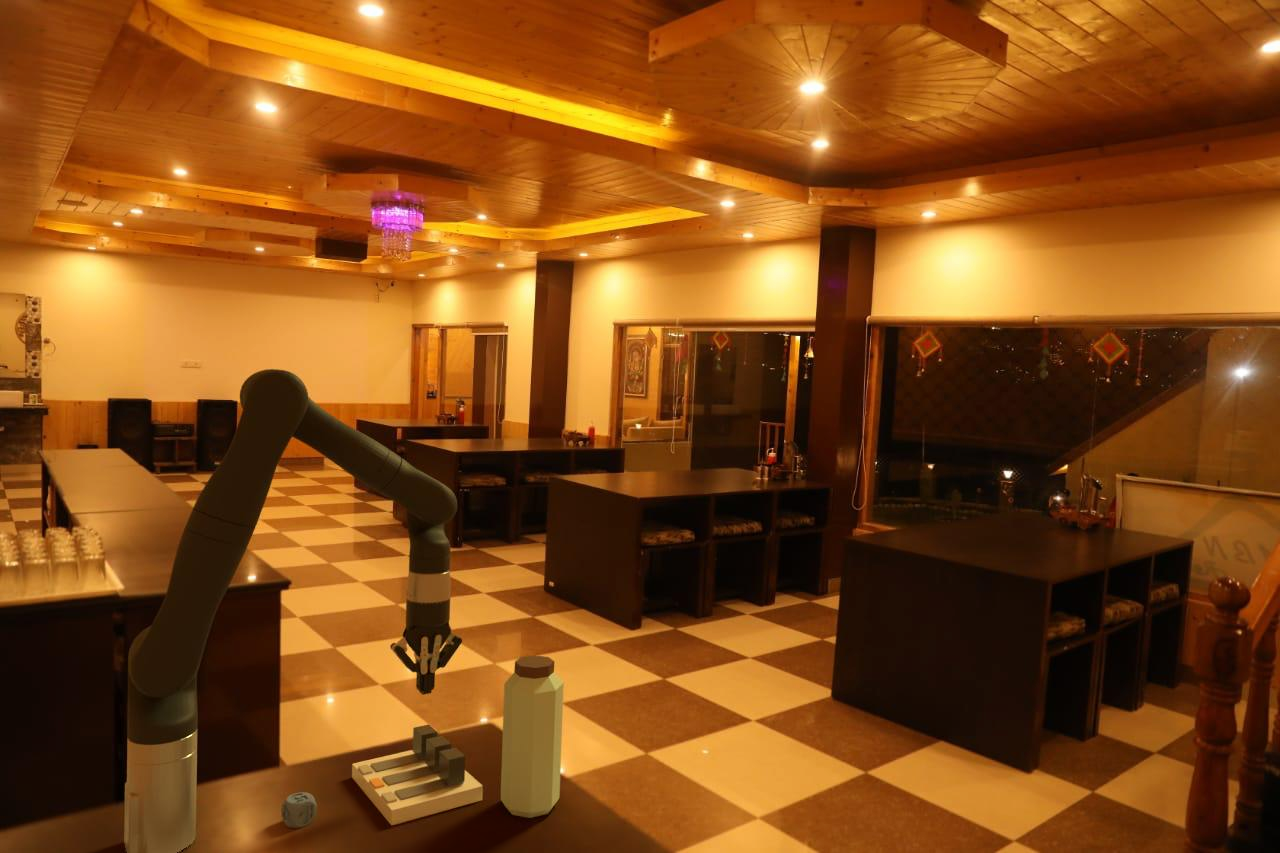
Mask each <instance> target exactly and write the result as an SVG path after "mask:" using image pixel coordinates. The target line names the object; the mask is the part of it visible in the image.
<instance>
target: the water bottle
mask: <svg viewBox="0 0 1280 853" xmlns="http://www.w3.org/2000/svg"><path fill="white" fill-rule="evenodd" d="M513 670H514V672H513V673H512V674H511V675H510V676H509V677H508V679H507V680H505V682H504V683H503V686H504V687H503V690H504V691H503V711H502V712H503V715H502V743H501V744H502V746H501V747H502V749H501V774H500V801H501V802H502V804H503V805H504V808H506V809H507V811H508V812H510V814H511V815H512V816H516V817H517V816H518V817H522V818H530V819H532V818H535V817H539V816H543V815H548V814H549V813H550V811H551V810H552V809H553V807H554V806H555V805H556V803H557V802H558V801H559V799H560V794H561V792H560V791H561V768H562V766H561V765H562V764H561V763H562V739H563V738H562V736H563V734H562V733H563V710H564V707H563V706H564V704H563V703H564V682H563V680H562V679H561V678H560V677H559V676H558V675H557V674H556V672H555V661H554V660H553V659H552V658H550V657H549V656H542V655H536V654H535V655H533V654H532V655H529V656H528V655H526V656H520V657H519V658H517V660H515V661H514V669H513Z"/></svg>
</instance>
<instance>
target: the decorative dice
mask: <svg viewBox="0 0 1280 853" xmlns="http://www.w3.org/2000/svg"><path fill="white" fill-rule="evenodd" d="M317 807H318V805H317V802H316V799H315V797H314V796H313V794H312V793H309V792H306V791H305V792H304V791H302V792H301V791H299V792H295V793H292V794H290V795H288V796H287V797H286V799H285V800H283V803H282V805H281V807H280V809H281V810H280V812H281V818H282V821H283V823H284V825H285V826H286V827H288V828H291V829H298V828H303V827H307V826H308V825H309V824H311V823H312V822H313V821H314V820H315V818H316V815H317V812H318V810H317V809H318V808H317Z"/></svg>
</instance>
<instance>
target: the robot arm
mask: <svg viewBox="0 0 1280 853" xmlns="http://www.w3.org/2000/svg"><path fill="white" fill-rule="evenodd" d="M239 403H240V407H241V408H242V410H241V411H242V412H241V415H240V418H239V421H238V425H237V427H236V430H235V433H234V436H233V438H232V440H231V443H230V445H229V448H228V450H227V451H226V453H225V455H224V456H223V459H222V460H221V461H220V462H219V464H218V465H217V467H216V468H215V470H214V471H213V473H212V474H211V476H210V477H209V479H208V481H207V482H206V484H205V485H204V487H203V489H202V490H201V492H200V493H199V496H198V497H197V499H196V500H195V504H193V507H192V510H191V513H190V515H189V517H188V520H187V521H186V523H185V524H186V525H185V526H184V528H183V532H182V534H181V538H180V540H179V544H178V546H177V549H176V553H175V557H174V560H173V564H172V568H171V573H170V578H169V582H168V587H167V591H166V592H165V593H166V594H165V596H164V598H163V602H162V604H161V606H160V608H159V609H158V612H157V614H156V616H155V618H154V620H153V622H152V624H151V625H150V626H148V627H145V629H143V630H142V631H141V632H140V633H138V635H137V636H136V637H134V640H133V641H132V643H131V645H130V647H129V650H128V656H127V657H128V658H127V659H128V661H127V714H126V715H127V744H126V745H127V749H126V750H127V755H126V756H127V757H126V759H127V760H126V764H127V766H126V782H125V783H124V820H123V821H124V826H123V827H124V828H123V830H124V831H123V832H124V833H123V835H124V836H123V844H125V845H124V849H125V848H126V849H125V852H127V853H177V852H178V853H180V852H182V851H181V850H183V849H184V848H186V847H187V848H189V847H190V846H191V845H192V844H193V843H194V842H195V840H196V838H195V837H196V835H197V834H196V833H197V832H196V828H197V780H198V779H197V775H198V774H197V770H198V768H197V767H198V766H197V765H198V723H199V722H198V721H199V718H198V715H199V714H198V712H199V710H198V690H197V685H198V684H197V683H198V682H197V681H198V680H197V678H198V671H199V669H200V666H201V662H202V659H203V654H204V650H205V647H206V643H207V640H208V637H209V634H210V631H211V627H212V624H213V621H214V618H215V615H216V613H217V610H218V608H219V605H220V604H221V602H222V599H223V597H224V596H225V594H226V593H227V590H228V588H229V586H230V584H231V582H232V581H233V578H234V576H235V574H236V572H237V570H238V568H239V566H240V563H241V562H242V560H243V557H244V555H245V553H246V551H247V549H248V546H249V544H250V541H251V539H252V537H253V534H254V532H255V530H256V526H257V524H258V521H259V520H260V515H261V513H262V511H263V509H264V505H265V503H266V500H267V497H268V494H269V492H270V489H271V485H272V483H273V479H274V475H275V473H276V470H277V468H278V465H279V463H280V460H281V459H282V456H283V454H284V452H285V451H286V449H287V447H288V445H289V443H290V441H291V440H292V438H294V439H296V440H298V441H300V442H302V443H303V444H305V445H307V446H308V447H310V448H311V449H313V450H314V451H316V452H317V453H319V454H321V455H322V456H324V457H326V459H328V460H329V461H331V462H332V463H334V464H335V465H337V466H338V467H340V468H341V469H342V470H343V471H345V472H346V473H348V474H349V475H351V476H352V477H353V478H355V479H356V480H358V481H360V482H361V483H363V484H364V485H366V486H367V487H369V488H371V489H372V490H373V491H375V492H376V493H378V494H380V495H382V496H384V497H386V498H387V499H390V500H393V501H395V502H396V503H398V504H399V505H401V506H402V507H404V508H405V513H406V514H405V515H406V525H407V532H408V539H409V553H408V554H409V558H408V574H407V580H406V591H405V596H406V597H405V598H406V601H405V627H404V630H403V632H402V637H401V638H400V639H399V640H398V641H397V642H393V643H391V644H390V650H391V651H392V652H393V653H394V654H395V656H396V657H397V658H398V659H399V660H400V662H401V663H402V664H403V665H404V666H405V667H406V668H407V670H409V671H410V672H412V673H416V682H415V683H416V684H415V685H416V686H415V687H416V690H418V692H419V693H420V694H421V695H422V696H423V695H429V694H432V690H434V688H435V686H436V684H435V683H436V681H435V680H436V671H437V670H439V669H440V668H442V669H444V668H445V667H446V666H447V665H448V663H449V662H450V660H451V659H452V657H453V655H454V654H455V653H456V652H457V650H458V648H459V647H460V646H461V644H462V642H463V639H462V637H460V636H459V635H456V634H454V633H453V632H452V627H451V626H450V619H451V593H452V592H451V590H452V589H451V586H452V582H451V571H450V570H451V542H450V539H448V537H447V536H446V532H445V524H446V523H448V522H450V521H451V520H452V519H453V518H454V517H455V515H456V513H457V511H458V499H457V497H456V495H455V493H454V492H453V491H452V489H451V488H450V487H448V486H447V485H445V484H444V483H442V482H440V481H439V480H437V479H435V478H434V477H432V476H431V475H428V474H426V473H424V472H423V471H421V470H419V469H417V468H416V467H415V466H413V465H412V464H410V463H409V462H408V461H406V460H405V459H404V458H402V457H401V456H400V455H398V453H395V452H394V451H392V450H391V449H389V448H388V447H387V446H385V445H383V444H382V443H380V442H378V441H376V440H375V439H373V438H372V437H370V436H368V435H367V434H365V433H363V432H361V431H359V430H357V429H355V428H353V427H351V425H349V424H347V423H345V422H343V421H341V420H339V419H338V418H337V417H334V416H333V415H332V414H331V413H329V412H327V411H326V410H325V409H324V408H322V407H321V406H320V405H318V404H317V403H316V402H315V401H314V400H313V399H311V397H309V392H308V389H307V387H306V385H305V382H304V381H303V380H302V379H301V378H300V377H299V376H298V375H296V374H295V373H294V372H291V371H288V370H285V369H278V368H277V369H274V368H270V369H269V368H268V369H263V370H259V371H257V372H254V373H253V374H251V375H250V376H248V377H247V378H246V379H245V381H244V382H243V383H242V385H241V388H240V391H239ZM407 645H408V646H407ZM408 647H409V648H410V649H411V650H412V651H413V655H414V659H415V660H414V661H415V662H414V661H413V659H412V658H411V657H410V655H409V654H407V651H408ZM193 841H194V842H193ZM190 844H191V845H190ZM189 845H190V846H189ZM188 846H189V847H188ZM187 848H186V849H187ZM184 850H185V849H184ZM184 850H183V851H184ZM179 851H180V852H179Z"/></svg>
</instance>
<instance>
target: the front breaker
mask: <svg viewBox="0 0 1280 853" xmlns="http://www.w3.org/2000/svg"><path fill="white" fill-rule="evenodd" d="M465 766H466V755H465V754H464V753H462V752H461V751H460V750H459V749H458V748H457V747H451V749H447V750H443V751H439V777H440V778H441V779H442V780H443V781H444V782H445V783H446V784H447V785H448V786H449V785H453V784H457V783H461V782H464V780H465V770H466V767H465Z"/></svg>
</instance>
